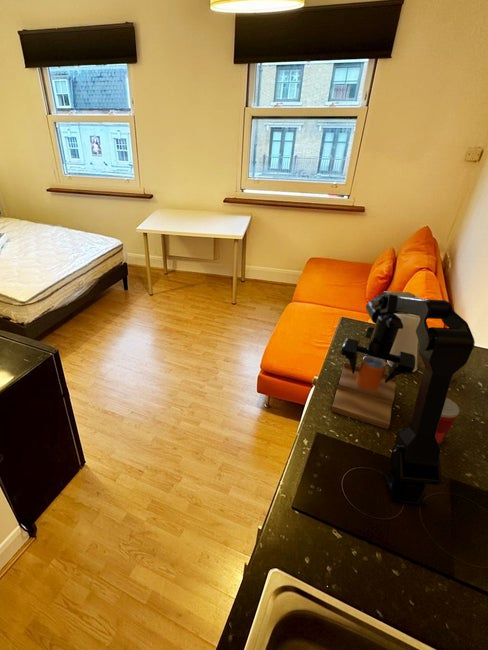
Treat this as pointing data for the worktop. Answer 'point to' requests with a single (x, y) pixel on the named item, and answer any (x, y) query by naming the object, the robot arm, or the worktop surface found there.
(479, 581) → the worktop surface
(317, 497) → the worktop surface
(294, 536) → the worktop surface
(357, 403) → the spice shelf
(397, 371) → the robot arm
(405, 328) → the spray can
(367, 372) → the orange tin
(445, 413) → the canned food
